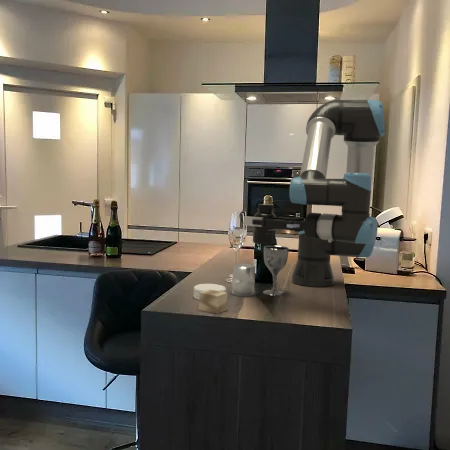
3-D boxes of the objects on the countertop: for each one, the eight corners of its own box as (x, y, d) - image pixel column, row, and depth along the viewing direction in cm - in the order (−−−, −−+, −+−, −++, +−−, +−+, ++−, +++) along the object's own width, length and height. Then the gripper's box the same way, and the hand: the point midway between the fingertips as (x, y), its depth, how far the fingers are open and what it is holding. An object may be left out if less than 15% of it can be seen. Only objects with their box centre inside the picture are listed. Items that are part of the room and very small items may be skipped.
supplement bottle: (273, 245, 147) (275, 205, 146) (251, 244, 148) (252, 204, 147) (275, 242, 154) (277, 204, 153) (254, 241, 155) (256, 203, 154)
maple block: (226, 310, 138) (227, 292, 137) (217, 314, 134) (218, 296, 133) (208, 306, 141) (209, 289, 140) (198, 310, 137) (199, 292, 136)
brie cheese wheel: (188, 295, 154) (189, 284, 153) (217, 293, 158) (218, 282, 157) (200, 303, 145) (200, 291, 144) (231, 301, 149) (231, 289, 148)
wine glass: (282, 290, 165) (284, 245, 163) (289, 295, 157) (291, 249, 156) (259, 290, 164) (261, 245, 162) (265, 295, 156) (267, 249, 154)
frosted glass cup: (250, 290, 161) (252, 263, 160) (256, 296, 155) (258, 268, 153) (229, 290, 160) (231, 263, 159) (234, 296, 153) (236, 268, 152)
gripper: (307, 242, 133) (234, 234, 145) (331, 236, 150) (263, 229, 162) (309, 215, 133) (235, 209, 144) (332, 212, 149) (264, 206, 161)
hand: (250, 220), depth 153 cm, fingers closed on supplement bottle, 7 cm apart
